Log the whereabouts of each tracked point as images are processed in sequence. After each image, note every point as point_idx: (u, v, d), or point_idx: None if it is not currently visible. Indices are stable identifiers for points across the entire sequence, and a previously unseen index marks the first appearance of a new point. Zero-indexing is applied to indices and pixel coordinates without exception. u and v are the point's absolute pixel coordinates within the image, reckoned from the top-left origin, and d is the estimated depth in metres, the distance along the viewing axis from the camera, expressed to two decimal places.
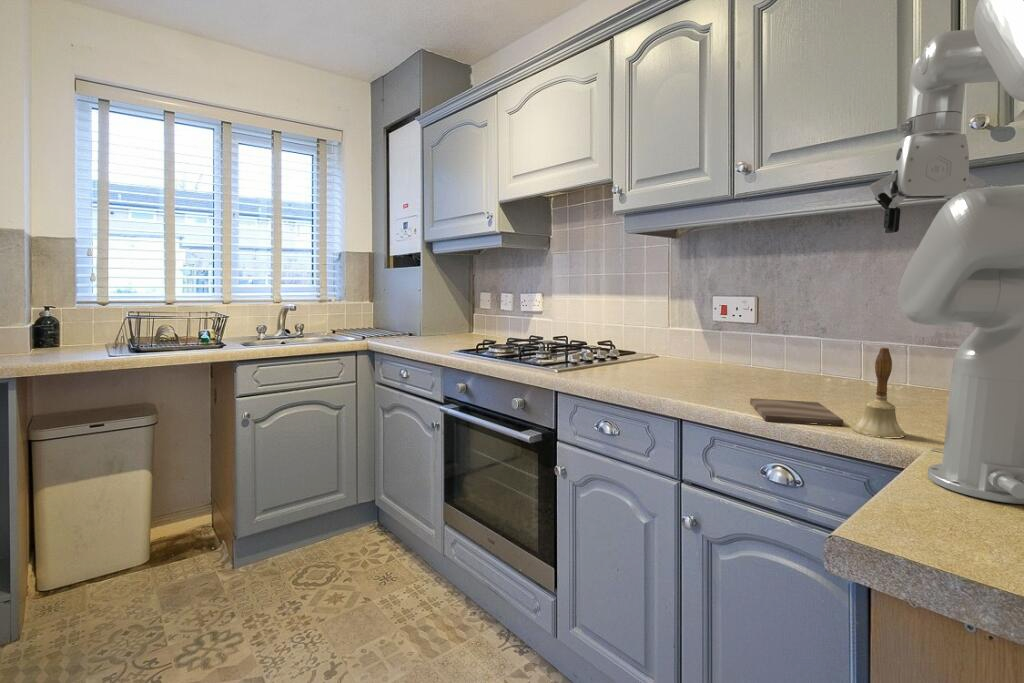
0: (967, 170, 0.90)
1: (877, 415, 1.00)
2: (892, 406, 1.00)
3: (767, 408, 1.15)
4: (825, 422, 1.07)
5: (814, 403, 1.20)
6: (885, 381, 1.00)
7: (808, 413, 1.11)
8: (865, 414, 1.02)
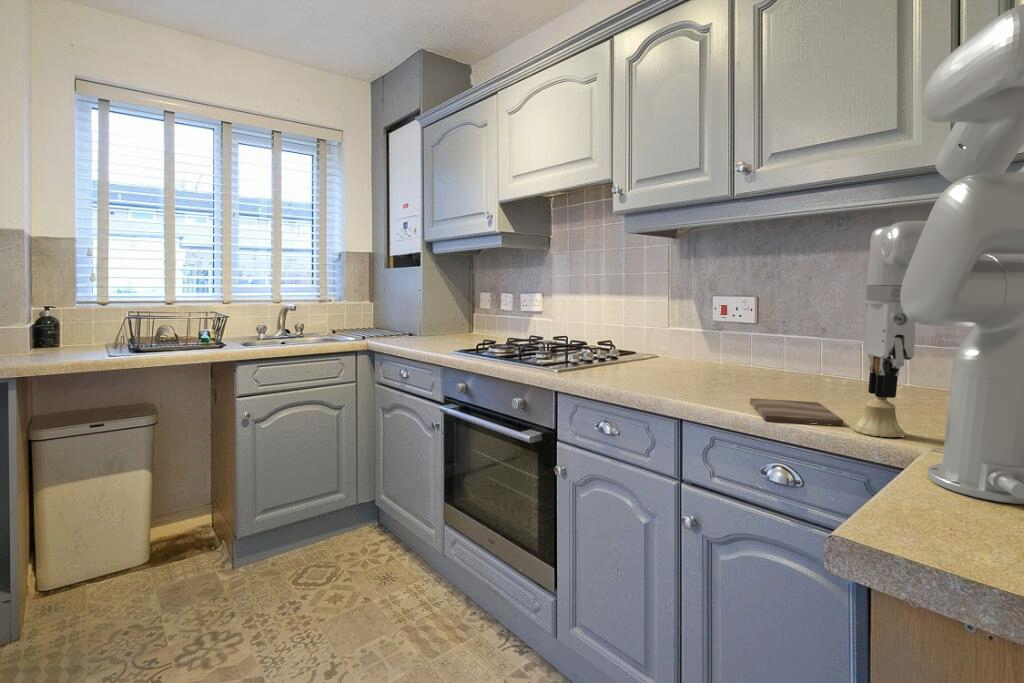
0: None
1: (877, 414, 1.00)
2: (892, 405, 1.00)
3: (767, 408, 1.15)
4: (825, 422, 1.07)
5: (814, 403, 1.20)
6: None
7: (808, 413, 1.11)
8: (865, 414, 1.02)
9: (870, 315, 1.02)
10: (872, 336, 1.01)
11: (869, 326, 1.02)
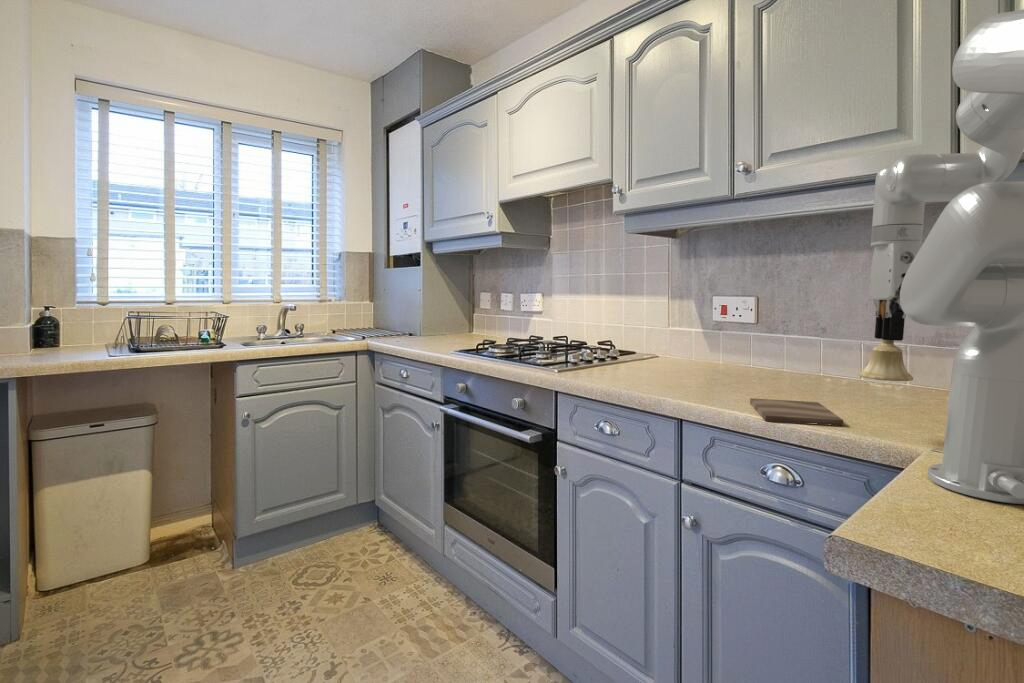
0: None
1: (884, 358, 0.98)
2: (899, 349, 0.98)
3: (767, 408, 1.15)
4: (825, 422, 1.07)
5: (814, 403, 1.20)
6: None
7: (808, 413, 1.11)
8: (871, 359, 1.01)
9: (876, 258, 1.00)
10: (878, 279, 0.99)
11: (875, 269, 1.00)
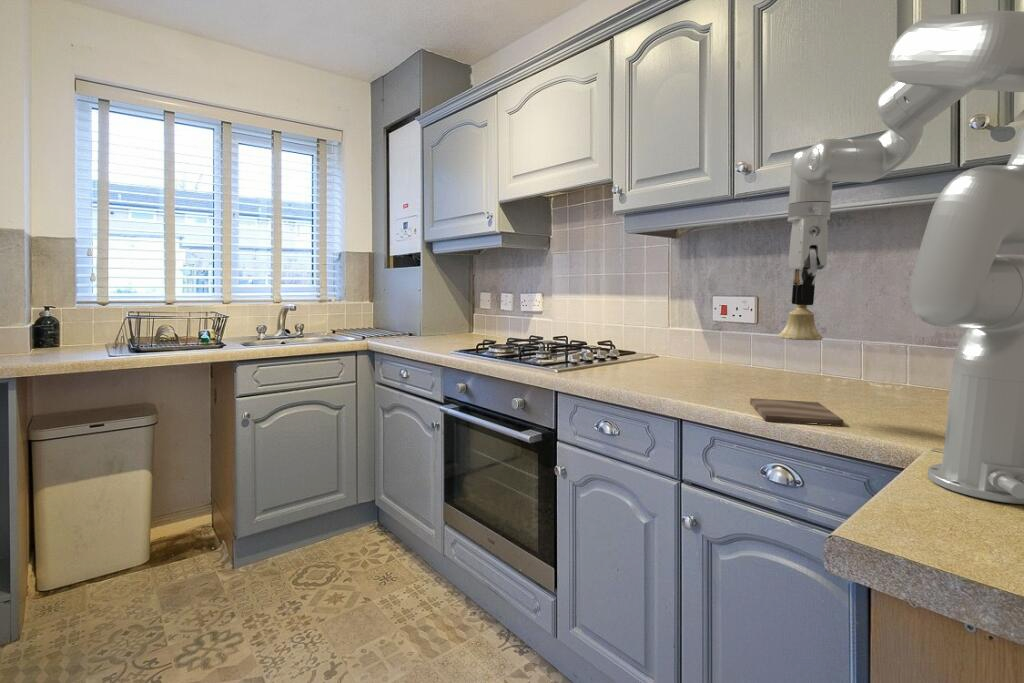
0: None
1: (797, 321, 1.11)
2: (810, 312, 1.11)
3: (767, 408, 1.15)
4: (825, 422, 1.07)
5: (814, 403, 1.20)
6: None
7: (808, 413, 1.11)
8: (788, 321, 1.14)
9: (792, 232, 1.13)
10: (793, 250, 1.12)
11: (791, 242, 1.13)
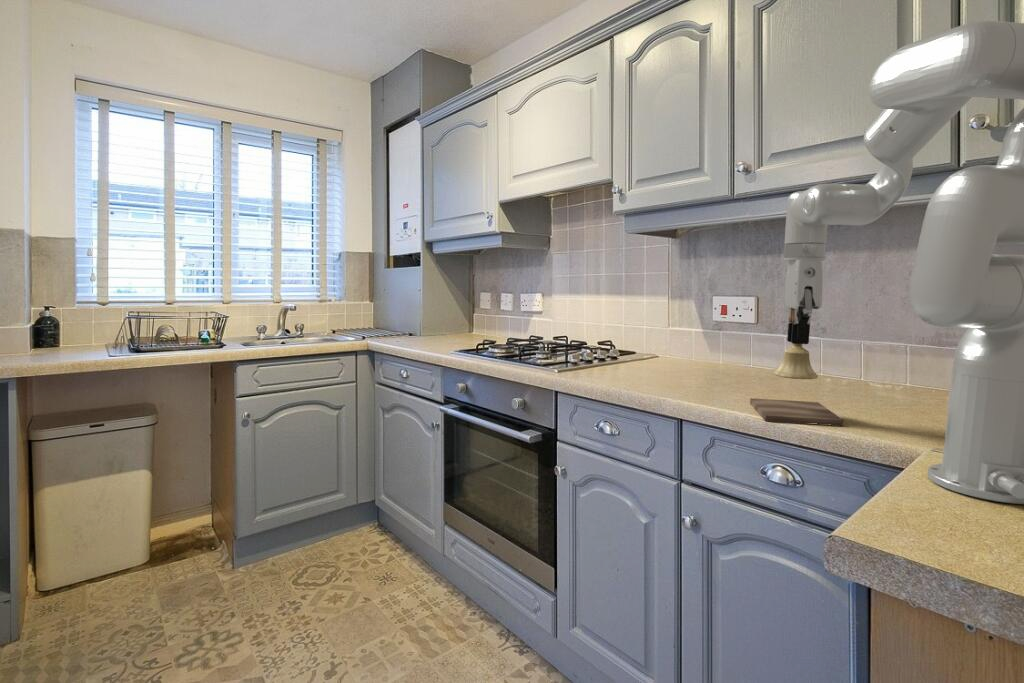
0: None
1: (792, 359, 1.13)
2: (806, 351, 1.13)
3: (767, 408, 1.15)
4: (825, 422, 1.07)
5: (814, 403, 1.20)
6: None
7: (808, 413, 1.11)
8: (783, 359, 1.15)
9: (788, 271, 1.14)
10: (788, 290, 1.13)
11: (787, 281, 1.14)
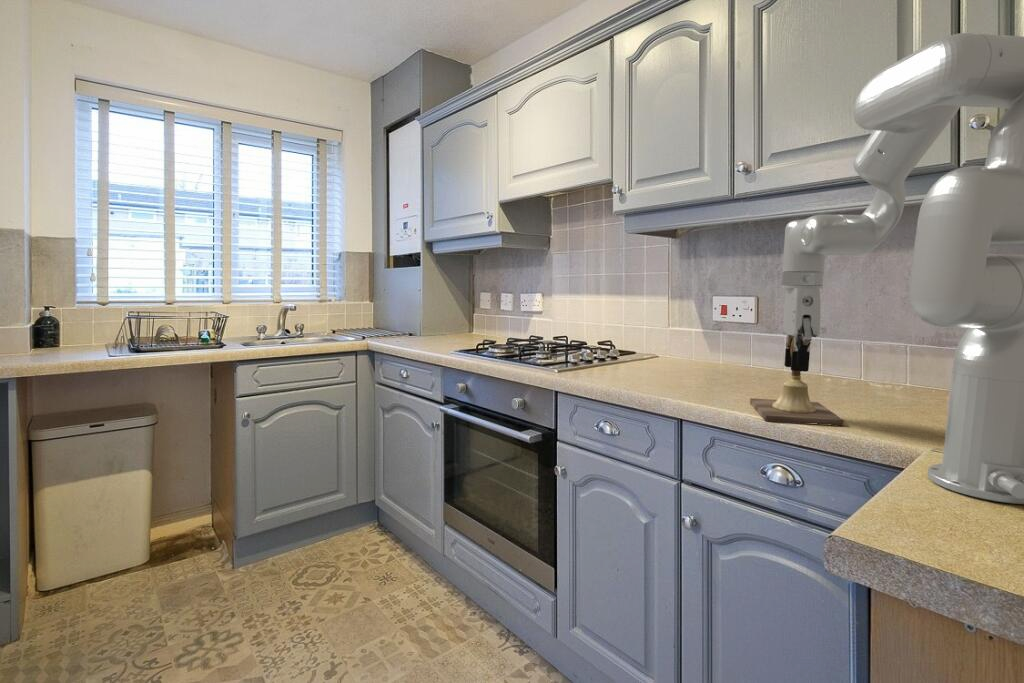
0: None
1: (791, 392, 1.13)
2: (804, 385, 1.13)
3: (767, 408, 1.15)
4: (825, 422, 1.07)
5: (814, 403, 1.20)
6: None
7: (808, 413, 1.11)
8: (782, 392, 1.15)
9: (786, 298, 1.15)
10: (787, 317, 1.14)
11: (785, 308, 1.15)
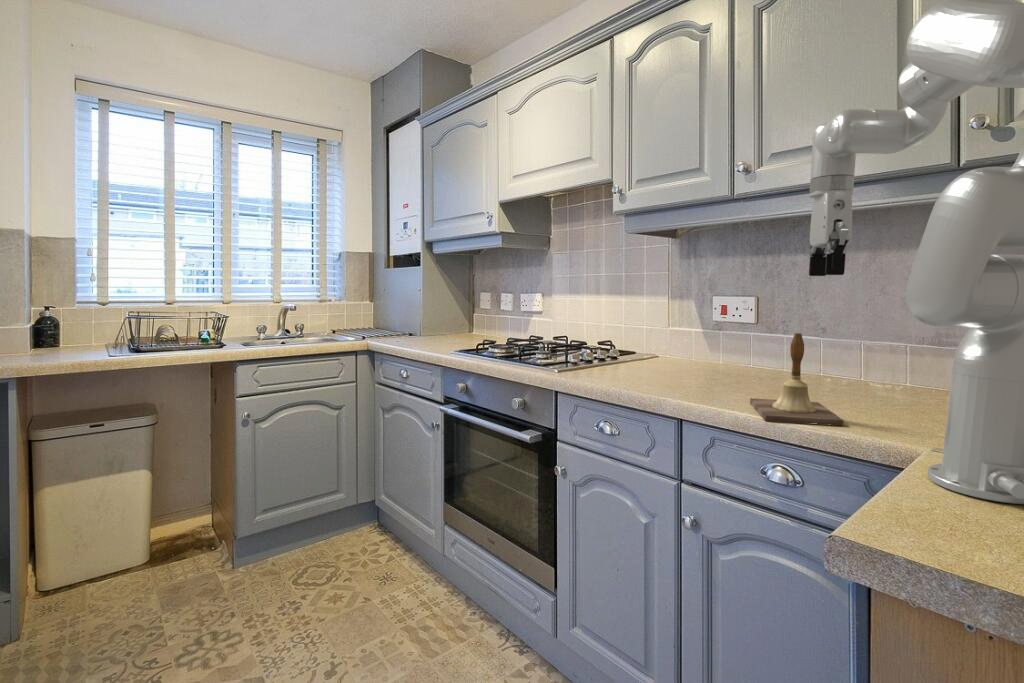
0: None
1: (791, 393, 1.13)
2: (804, 385, 1.13)
3: (767, 408, 1.15)
4: (825, 422, 1.07)
5: (814, 403, 1.20)
6: (798, 362, 1.13)
7: (808, 413, 1.11)
8: (782, 392, 1.15)
9: (814, 208, 1.11)
10: (815, 226, 1.09)
11: (813, 219, 1.11)
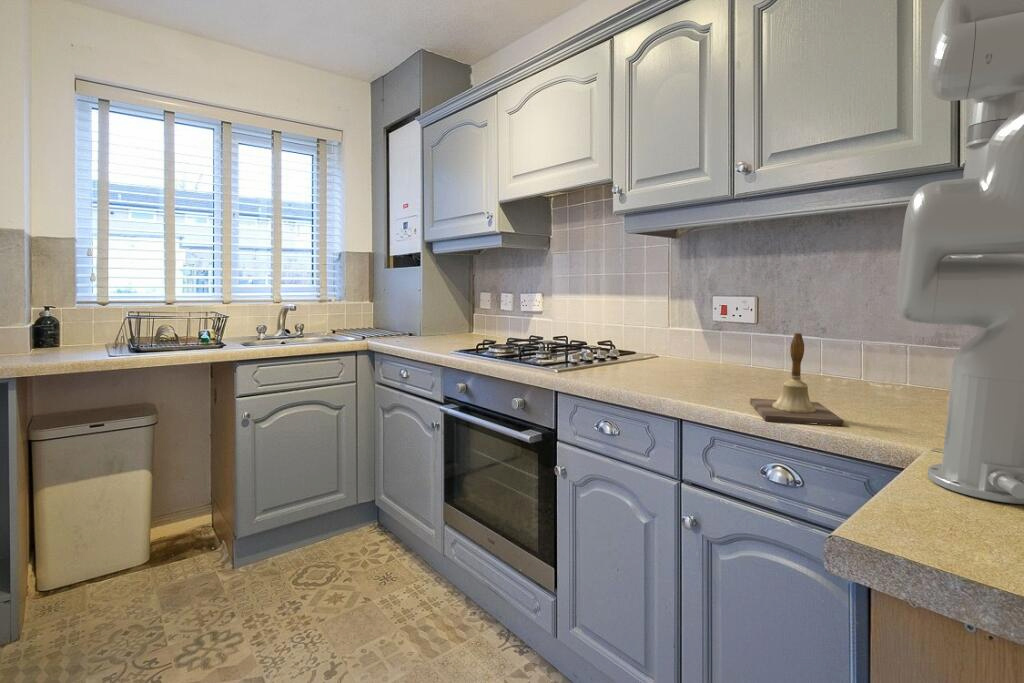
0: None
1: (791, 393, 1.13)
2: (804, 385, 1.13)
3: (767, 408, 1.15)
4: (825, 422, 1.07)
5: (814, 403, 1.20)
6: (798, 362, 1.13)
7: (808, 413, 1.11)
8: (782, 392, 1.15)
9: (971, 160, 0.98)
10: None
11: (969, 172, 0.98)
